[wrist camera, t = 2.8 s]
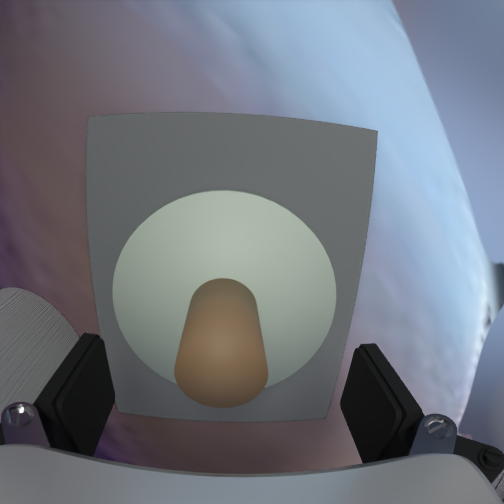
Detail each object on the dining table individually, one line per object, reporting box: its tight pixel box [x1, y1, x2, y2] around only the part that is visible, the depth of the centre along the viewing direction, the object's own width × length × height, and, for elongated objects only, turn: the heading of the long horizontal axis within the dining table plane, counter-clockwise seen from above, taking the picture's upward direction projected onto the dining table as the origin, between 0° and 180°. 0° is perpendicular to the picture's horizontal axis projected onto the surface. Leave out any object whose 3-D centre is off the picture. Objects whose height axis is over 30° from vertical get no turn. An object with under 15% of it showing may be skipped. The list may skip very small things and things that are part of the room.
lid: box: [112, 189, 336, 408], centre depth 13 cm, size 11×11×6 cm
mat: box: [86, 112, 378, 422], centre depth 16 cm, size 18×14×1 cm
